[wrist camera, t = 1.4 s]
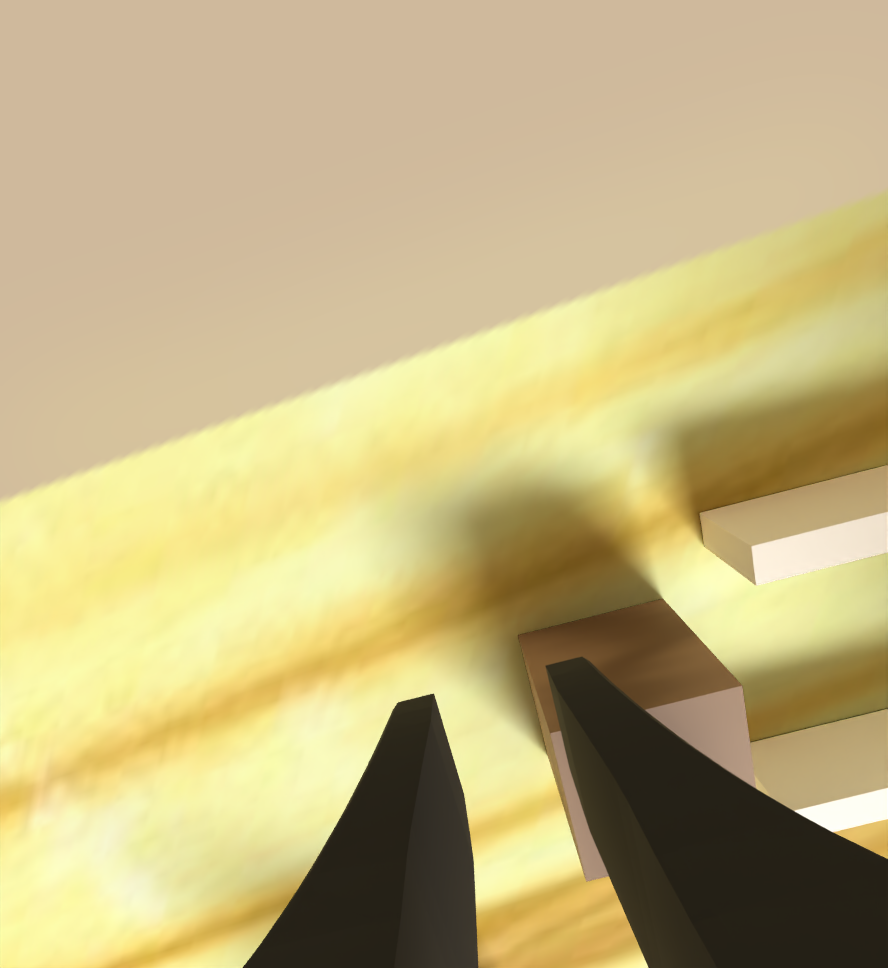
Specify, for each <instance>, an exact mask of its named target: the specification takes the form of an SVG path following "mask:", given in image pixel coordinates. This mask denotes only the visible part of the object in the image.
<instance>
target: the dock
mask: <svg viewBox="0 0 888 968" xmlns="http://www.w3.org/2000/svg"><path fill="white" fill-rule="evenodd" d="M700 520H701V527H702V534H703V541H704V547H705V548H707V549H708V550H709V551H711V552H712V553H713V554H715V555H716V556H717V557H719V558H720V559H721V560H723V561H724V562H725V563H727V564H728V565H729V566H731V567H732V568H733V569H735V570H736V571H737V572H739V573H740V574H741V575H743V576H744V577H745V578H747V579H748V580H749V581H751V582H752V583H753V584H755V585H760V584H764V583H768V582H772V581H776V580H780V579H784V578H788V577H792V576H796V575H800V574H804V573H808V572H812V571H816V570H820V569H824V568H828V567H832V566H836V565H840V564H844V563H848V562H852V561H856V560H860V559H864V558H868V557H872V556H876V555H880V554H884V553H888V465H885V466H882V467H878V468H874V469H870V470H866V471H862V472H858V473H854V474H850V475H846V476H842V477H838V478H834V479H831V480H827V481H823V482H819V483H815V484H811V485H807V486H803V487H799V488H795V489H791V490H787V491H783V492H780V493H776V494H772V495H768V496H764V497H760V498H756V499H752V500H748V501H744V502H740V503H736V504H732V505H729V506H725V507H721V508H717V509H713V510H709V511H705V512H701V513H700ZM750 746H751V754H752V761H753V768H754V776H755V783H756V789H758V790H759V791H761V792H763V793H764V794H766V795H768V796H769V797H771V798H773V799H775V800H776V801H778V802H780V803H781V804H783V805H785V806H786V807H788V808H790V809H792V810H793V811H795V812H797V813H798V814H800V815H802V816H804V817H806V818H808V819H809V820H811V821H813V822H815V823H817V824H819V825H820V826H822V827H824V828H826V829H828V830H830V831H831V832H835V831H839V830H843V829H847V828H851V827H856V826H860V825H864V824H868V823H872V822H876V821H880V820H884V819H888V709H885V710H881V711H877V712H873V713H869V714H865V715H861V716H857V717H853V718H848V719H844V720H840V721H836V722H832V723H828V724H824V725H820V726H816V727H812V728H808V729H804V730H800V731H796V732H792V733H787V734H783V735H779V736H775V737H771V738H767V739H763V740H759V741H755V742H751V743H750Z"/></svg>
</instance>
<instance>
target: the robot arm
mask: <svg viewBox="0 0 888 968" xmlns="http://www.w3.org/2000/svg"><path fill="white" fill-rule="evenodd" d="M545 667H546V671H547V675H548V679H549V684H550V688H551V692H552V696H553V701H554V705H555V709H556V713H557V717H558V722H559V726H560V730H561V734H562V739H563V743H564V747H565V751H566V755H567V760H568V764H569V768H570V771H571V774H572V778H573V781H574V784H575V787H576V790H577V793H578V796H579V799H580V803H581V806H582V809H583V812H584V815H585V818H586V821H587V824H588V827H589V830H590V833H591V835H592V838H593V840H594V842H595V845H596V847H597V849H598V852H599V854H600V856H601V859H602V861H603V863H604V865H605V868H606V870H607V872H608V875H609V877H610V879H611V882H612V884H613V886H614V889H615V891H616V893H617V896H618V898H619V900H620V903H621V905H622V907H623V909H624V912H625V914H626V916H627V919H628V921H629V923H630V926H631V928H632V930H633V933H634V935H635V937H636V939H637V942H638V944H639V946H640V949H641V951H642V953H643V956H644V958H645V960H646V963H647V965H648V967H649V968H888V859H886V858H884V857H882V856H880V855H878V854H876V853H874V852H872V851H870V850H868V849H866V848H864V847H862V846H860V845H858V844H856V843H854V842H852V841H849V840H847V839H845V838H843V837H841V836H839V835H837V834H835V833H833V832H831V831H830V830H828V829H826V828H824V827H822V826H820V825H819V824H817V823H815V822H813V821H811V820H809V819H808V818H806V817H804V816H802V815H800V814H798V813H797V812H795V811H793V810H792V809H790V808H788V807H786V806H785V805H783V804H781V803H780V802H778V801H776V800H775V799H773V798H771V797H769V796H768V795H766V794H764V793H763V792H761V791H759V790H758V789H756V788H755V787H753V786H751V785H750V784H748V783H747V782H745V781H743V780H742V779H740V778H739V777H737V776H736V775H734V774H733V773H731V772H729V771H728V770H726V769H725V768H723V767H722V766H721V765H719V764H718V763H716V762H715V761H713V760H712V759H710V758H709V757H707V756H706V755H704V754H703V753H702V752H700V751H699V750H697V749H696V748H694V747H693V746H692V745H690V744H689V743H687V742H686V741H685V740H683V739H682V738H681V737H679V736H678V735H676V734H675V733H674V732H673V731H671V730H670V729H669V728H667V727H666V726H665V725H664V724H662V723H661V722H660V721H658V720H657V719H656V718H654V717H653V716H652V715H651V714H649V713H648V712H647V711H645V710H644V709H643V708H642V707H641V706H639V705H638V704H637V703H636V702H634V701H633V700H632V699H631V698H630V697H629V696H627V695H626V694H625V693H624V692H623V691H622V690H620V689H619V688H618V687H617V686H616V685H615V684H614V683H612V682H611V681H610V680H609V679H608V678H607V677H606V676H605V675H604V674H603V673H602V672H600V671H599V670H598V669H597V668H596V667H595V666H594V665H593V664H592V663H591V662H590V661H589V660H587V659H585V658H584V657H578V658H574V659H570V660H566V661H562V662H558V663H554V664H550V665H546V666H545ZM243 968H478V951H477V926H476V903H475V881H474V861H473V853H472V846H471V839H470V831H469V825H468V818H467V811H466V804H465V798H464V793H463V789H462V786H461V783H460V779H459V776H458V773H457V769H456V766H455V763H454V759H453V756H452V753H451V749H450V746H449V743H448V739H447V736H446V733H445V729H444V726H443V723H442V719H441V716H440V713H439V709H438V706H437V702H436V699H435V696H434V694H430V695H426V696H422V697H418V698H414V699H410V700H406V701H402V702H398V703H397V705H396V706H395V708H394V709H393V711H392V713H391V716H390V718H389V720H388V722H387V725H386V727H385V729H384V731H383V734H382V736H381V738H380V740H379V742H378V744H377V747H376V749H375V751H374V753H373V755H372V757H371V759H370V761H369V763H368V766H367V768H366V770H365V772H364V774H363V775H362V777H361V779H360V781H359V783H358V785H357V787H356V789H355V791H354V793H353V795H352V797H351V799H350V801H349V803H348V805H347V807H346V809H345V810H344V812H343V814H342V816H341V818H340V819H339V821H338V823H337V825H336V826H335V828H334V830H333V832H332V833H331V835H330V837H329V838H328V840H327V842H326V844H325V845H324V847H323V849H322V851H321V852H320V854H319V856H318V857H317V859H316V861H315V863H314V864H313V866H312V868H311V869H310V871H309V872H308V874H307V876H306V877H305V879H304V880H303V882H302V884H301V885H300V887H299V888H298V890H297V891H296V893H295V894H294V896H293V897H292V899H291V901H290V902H289V904H288V905H287V907H286V908H285V910H284V911H283V912H282V914H281V915H280V917H279V918H278V920H277V921H276V923H275V924H274V926H273V927H272V928H271V930H270V931H269V933H268V934H267V936H266V937H265V939H264V940H263V941H262V943H261V944H260V946H259V947H258V948H257V950H256V951H255V952H254V954H253V955H252V956H251V958H250V959H249V960H248V961H247V963H246V964H245V965H244V967H243Z"/></svg>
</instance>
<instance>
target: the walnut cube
mask: <svg viewBox="0 0 888 968" xmlns="http://www.w3.org/2000/svg"><path fill="white" fill-rule="evenodd" d="M518 638H519V642H520V646H521V650H522V654H523V658H524V662H525V666H526V670H527V674H528V678H529V682H530V686H531V690H532V694H533V698H534V702H535V706H536V710H537V714H538V718H539V722H540V726H541V730H542V734H543V738H544V742H545V746H546V750H547V754H548V758H549V761H550V764H551V768H552V771H553V774H554V778H555V781H556V784H557V787H558V791H559V794H560V797H561V800H562V804H563V807H564V810H565V813H566V817H567V820H568V823H569V826H570V830H571V833H572V836H573V840H574V843H575V846H576V849H577V853H578V856H579V859H580V862H581V866H582V869H583V872H584V875H585V879H586V882H587V881H591V880H595V879H599V878H603V877H607V876H609V875H608V872H607V870H606V868H605V865H604V863H603V861H602V859H601V856H600V854H599V852H598V849H597V847H596V845H595V842H594V840H593V838H592V835H591V833H590V830H589V827H588V824H587V821H586V818H585V815H584V812H583V809H582V806H581V803H580V799H579V796H578V793H577V790H576V787H575V784H574V781H573V778H572V774H571V771H570V768H569V764H568V760H567V755H566V751H565V747H564V743H563V739H562V734H561V730H560V726H559V722H558V717H557V713H556V709H555V705H554V701H553V696H552V692H551V688H550V684H549V679H548V675H547V671H546V667H545V666H546V665H550V664H554V663H558V662H562V661H566V660H570V659H574V658H578V657H584V658H585V659H587V660H589V661H590V662H591V663H592V664H593V665H594V666H595V667H596V668H597V669H598V670H599V671H600V672H602V673H603V674H604V675H605V676H606V677H607V678H608V679H609V680H610V681H611V682H612V683H614V684H615V685H616V686H617V687H618V688H619V689H620V690H622V691H623V692H624V693H625V694H626V695H627V696H629V697H630V698H631V699H632V700H633V701H634V702H636V703H637V704H638V705H639V706H641V707H642V708H643V709H644V710H645V711H647V712H648V713H649V714H651V715H652V716H653V717H654V718H656V719H657V720H658V721H660V722H661V723H662V724H664V725H665V726H666V727H667V728H669V729H670V730H671V731H673V732H674V733H675V734H676V735H678V736H679V737H681V738H682V739H683V740H685V741H686V742H687V743H689V744H690V745H692V746H693V747H694V748H696V749H697V750H699V751H700V752H702V753H703V754H704V755H706V756H707V757H709V758H710V759H712V760H713V761H715V762H716V763H718V764H719V765H721V766H722V767H723V768H725V769H726V770H728V771H729V772H731V773H733V774H734V775H736V776H737V777H739V778H740V779H742V780H743V781H745V782H747V783H748V784H750V785H751V786H753V787H755V788H756V783H755V776H754V768H753V761H752V754H751V746H750V739H749V732H748V724H747V717H746V710H745V702H744V695H743V687H742V685H741V684H740V683H739V682H738V680H737V679H736V678H735V677H734V676H733V675H732V674H731V673H730V672H729V671H728V670H727V668H726V667H725V666H724V665H723V664H722V663H721V662H720V661H719V660H718V659H717V657H716V656H715V655H714V654H713V653H712V652H711V651H710V650H709V649H708V648H707V646H706V645H705V644H704V643H703V642H702V641H701V640H700V639H699V638H698V637H697V636H696V634H695V633H694V632H693V631H692V630H691V629H690V628H689V627H688V626H687V625H686V623H685V622H684V621H683V620H682V619H681V618H680V617H679V616H678V615H677V614H676V613H675V611H674V610H673V609H672V608H671V607H670V606H669V605H668V604H667V603H666V602H665V600H664V599H659V600H655V601H651V602H647V603H643V604H639V605H635V606H631V607H628V608H624V609H620V610H616V611H612V612H608V613H604V614H600V615H596V616H592V617H588V618H584V619H580V620H576V621H572V622H568V623H564V624H560V625H556V626H552V627H549V628H545V629H541V630H537V631H533V632H529V633H525V634H521V635H518Z"/></svg>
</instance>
